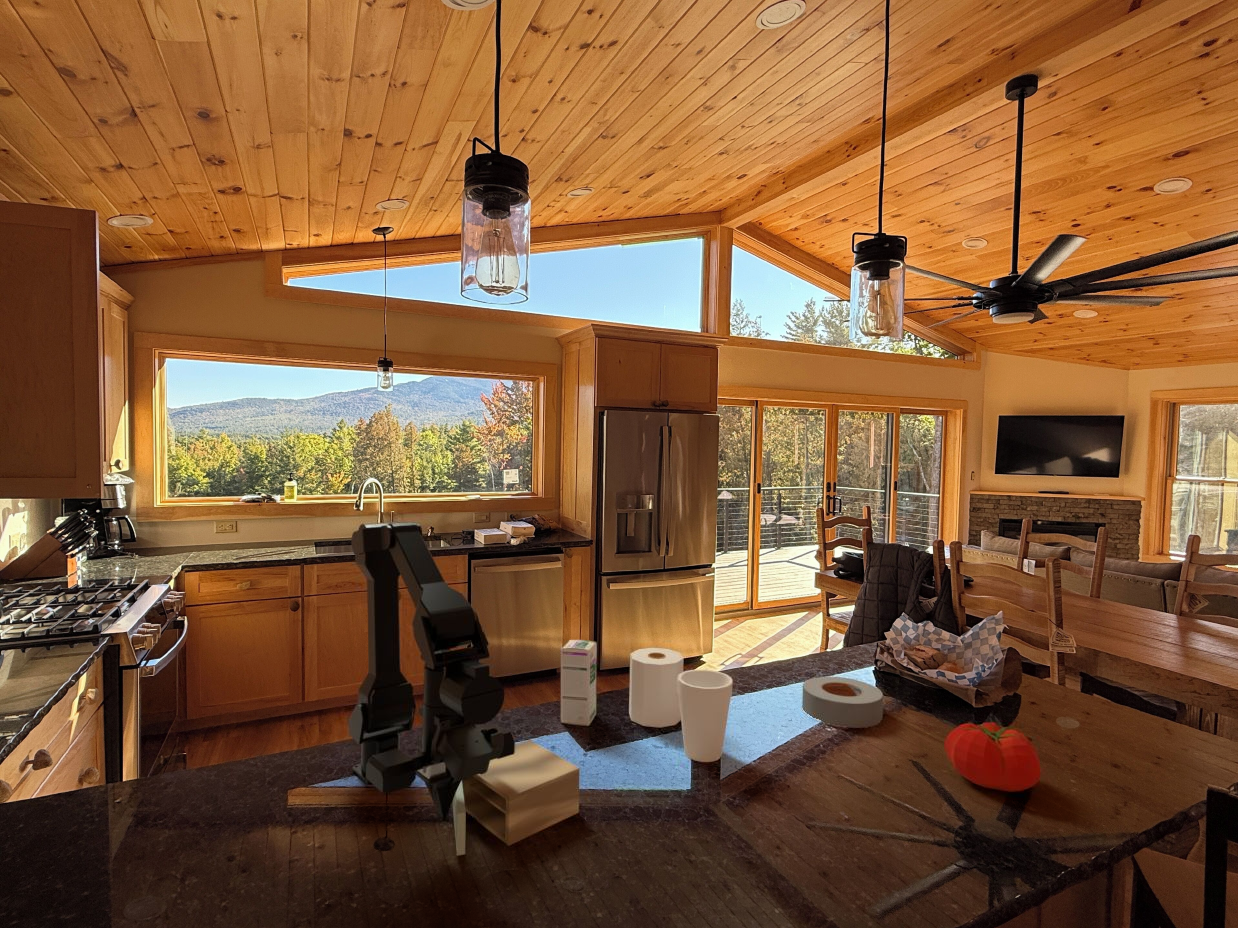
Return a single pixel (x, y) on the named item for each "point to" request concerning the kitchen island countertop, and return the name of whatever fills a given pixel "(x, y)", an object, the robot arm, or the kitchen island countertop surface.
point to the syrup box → (578, 682)
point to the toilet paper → (655, 687)
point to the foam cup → (704, 712)
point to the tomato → (993, 757)
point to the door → (459, 820)
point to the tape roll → (842, 701)
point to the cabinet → (523, 792)
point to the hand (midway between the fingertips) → (442, 820)
